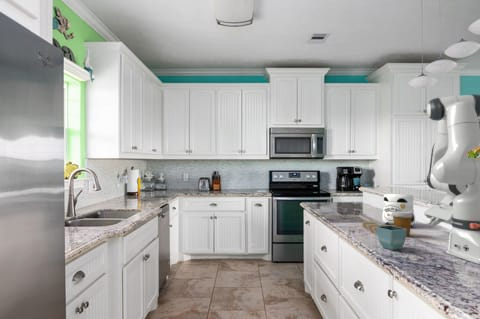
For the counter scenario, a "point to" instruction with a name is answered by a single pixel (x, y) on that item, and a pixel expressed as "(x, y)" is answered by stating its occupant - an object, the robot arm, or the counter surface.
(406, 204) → the milk container
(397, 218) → the disposable coffee cup
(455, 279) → the counter surface
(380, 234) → the flower pot
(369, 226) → the walnut T block
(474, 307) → the counter surface
